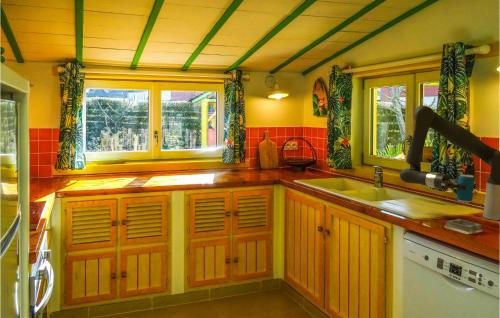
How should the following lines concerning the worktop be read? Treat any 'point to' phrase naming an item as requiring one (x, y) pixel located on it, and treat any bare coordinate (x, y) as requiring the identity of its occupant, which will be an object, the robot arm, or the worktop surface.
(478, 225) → the grey square tray
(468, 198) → the beverage can
